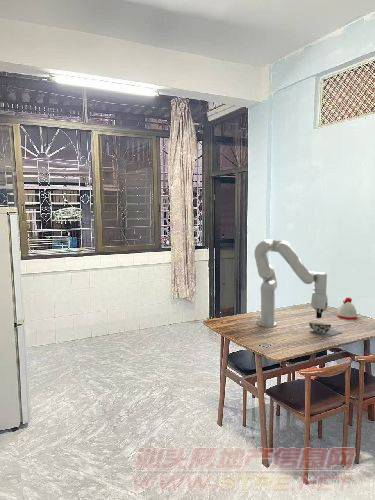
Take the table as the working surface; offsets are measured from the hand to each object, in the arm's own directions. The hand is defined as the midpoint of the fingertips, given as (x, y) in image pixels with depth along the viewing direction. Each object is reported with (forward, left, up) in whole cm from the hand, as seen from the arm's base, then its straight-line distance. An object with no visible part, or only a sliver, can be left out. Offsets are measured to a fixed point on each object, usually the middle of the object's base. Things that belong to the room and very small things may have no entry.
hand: (318, 317), depth 245 cm
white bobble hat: (-9, +45, -9) cm, 47 cm away
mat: (+6, 0, -9) cm, 10 cm away
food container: (-2, -1, -7) cm, 7 cm away
